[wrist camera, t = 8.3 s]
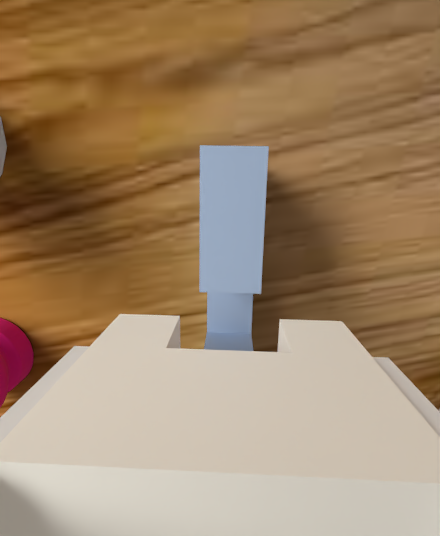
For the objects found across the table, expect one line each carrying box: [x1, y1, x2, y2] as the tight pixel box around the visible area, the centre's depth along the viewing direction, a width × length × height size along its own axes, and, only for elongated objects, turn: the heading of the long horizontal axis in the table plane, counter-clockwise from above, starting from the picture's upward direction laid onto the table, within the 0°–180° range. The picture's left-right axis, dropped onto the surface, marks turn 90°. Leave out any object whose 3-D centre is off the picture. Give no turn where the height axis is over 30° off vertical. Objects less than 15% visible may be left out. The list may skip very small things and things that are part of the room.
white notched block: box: [0, 314, 440, 536], centre depth 10 cm, size 10×3×8 cm, turn 89°
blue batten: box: [200, 145, 269, 351], centre depth 20 cm, size 18×3×8 cm, turn 179°
